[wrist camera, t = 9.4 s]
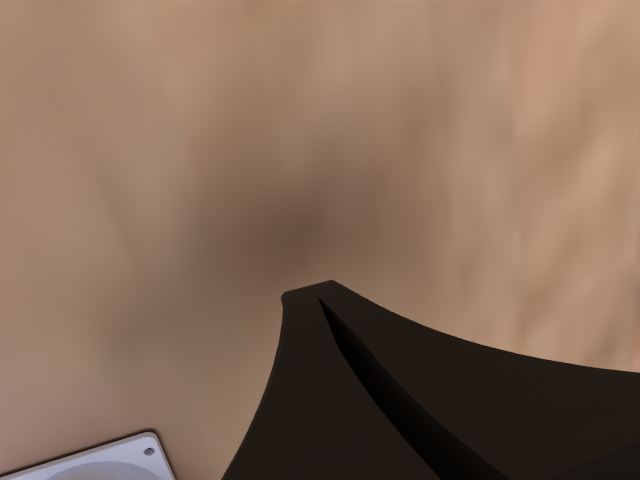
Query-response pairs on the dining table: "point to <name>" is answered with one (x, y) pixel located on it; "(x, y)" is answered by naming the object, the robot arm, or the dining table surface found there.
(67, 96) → the dining table surface
